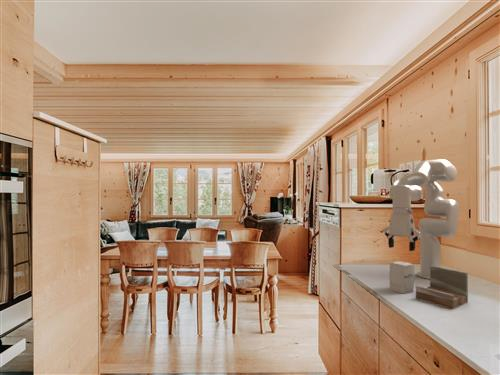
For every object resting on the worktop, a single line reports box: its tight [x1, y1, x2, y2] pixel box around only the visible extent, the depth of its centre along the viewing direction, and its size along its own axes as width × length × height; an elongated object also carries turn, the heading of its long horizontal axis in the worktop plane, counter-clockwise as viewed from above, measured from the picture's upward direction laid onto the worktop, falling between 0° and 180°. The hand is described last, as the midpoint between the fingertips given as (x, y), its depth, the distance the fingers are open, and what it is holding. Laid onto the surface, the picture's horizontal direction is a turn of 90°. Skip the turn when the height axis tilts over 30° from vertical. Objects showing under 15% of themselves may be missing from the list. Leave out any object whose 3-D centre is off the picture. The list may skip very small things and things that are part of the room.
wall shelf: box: [415, 266, 469, 309], centre depth 128 cm, size 14×14×12 cm
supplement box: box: [389, 260, 415, 295], centre depth 140 cm, size 7×7×13 cm
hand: (401, 249), depth 140 cm, fingers open, 9 cm apart
